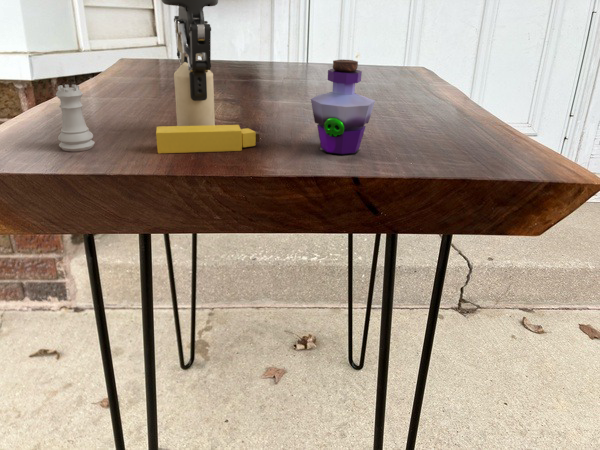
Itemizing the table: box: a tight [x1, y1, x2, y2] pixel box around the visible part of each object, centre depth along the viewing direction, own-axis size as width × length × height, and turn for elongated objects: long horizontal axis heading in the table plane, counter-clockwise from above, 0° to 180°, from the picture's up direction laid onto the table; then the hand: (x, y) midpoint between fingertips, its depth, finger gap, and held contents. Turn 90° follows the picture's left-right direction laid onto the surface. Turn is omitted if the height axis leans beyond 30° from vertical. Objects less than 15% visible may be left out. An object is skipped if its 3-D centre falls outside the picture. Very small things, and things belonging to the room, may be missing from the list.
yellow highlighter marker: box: [155, 124, 260, 154], centre depth 71 cm, size 14×4×3 cm, turn 102°
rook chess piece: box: [55, 84, 96, 153], centre depth 68 cm, size 4×4×8 cm
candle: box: [173, 62, 216, 126], centre depth 77 cm, size 6×6×10 cm
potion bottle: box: [310, 59, 376, 157], centre depth 71 cm, size 9×9×12 cm
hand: (194, 95), depth 77 cm, fingers closed on candle, 5 cm apart
